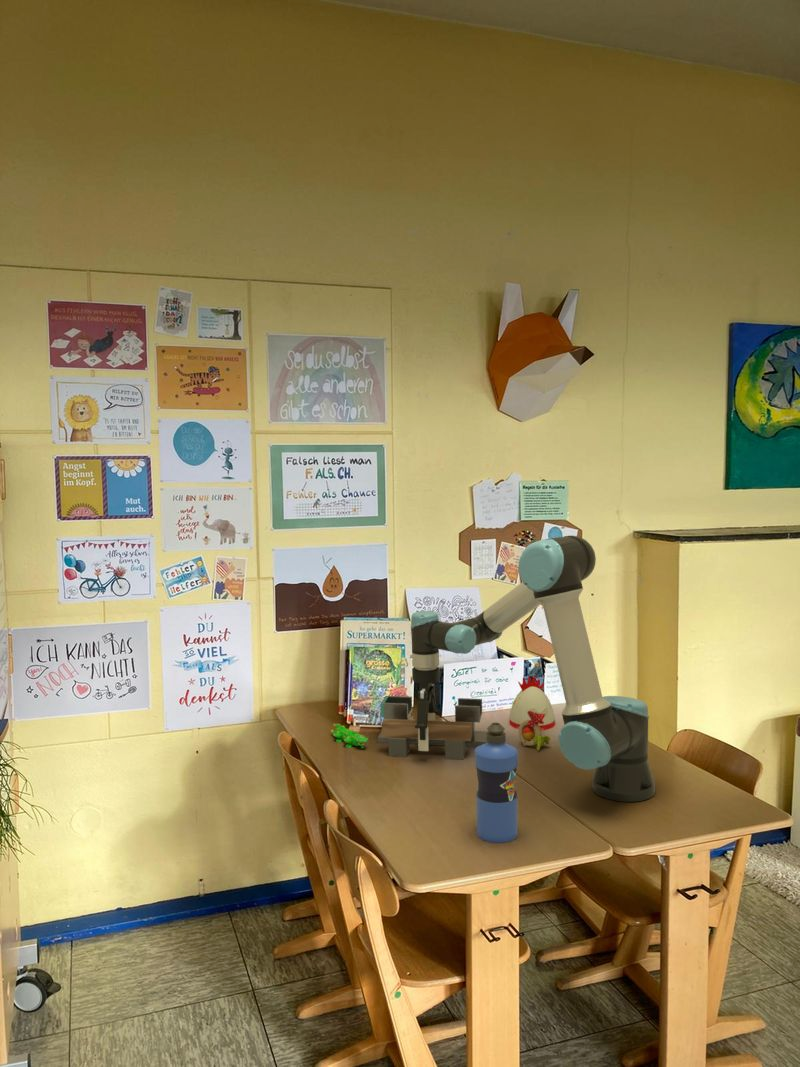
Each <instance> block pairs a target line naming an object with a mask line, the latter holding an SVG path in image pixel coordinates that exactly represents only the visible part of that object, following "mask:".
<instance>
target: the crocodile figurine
mask: <svg viewBox="0 0 800 1067" xmlns="http://www.w3.org/2000/svg"><path fill="white" fill-rule="evenodd" d="M333 727H334V728H335V730H334V729H331V730H330V731H331V734H332V736H334V737H335V738H337V739H335V742H336V743H342V742H345V743H346V744H345V747H346V748H352V747H353V746H355V747H359V746H360V749H364V748H365V744H366V743H367V742H368V741H369V738H367V737H366V736H365V735H364V734H361V733H360V734H359V733H357V731H355V730H353V729H350V728H346V726H345V725H341V724H340V723H333Z"/></svg>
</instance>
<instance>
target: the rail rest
mask: <svg viewBox="0 0 800 1067" xmlns="http://www.w3.org/2000/svg"><path fill="white" fill-rule="evenodd" d="M387 746H388V757H400V758H401V757H402V758H407V756H408V754H409V753H410V750H411V744H410V738H388V743H387ZM444 749H445V750H444V751H445V752H444V753H445V754H444V756H445V757H444V758H445V760H460V761H461V760H465V756H466V753H467V746H466V741H457V740H445V745H444Z"/></svg>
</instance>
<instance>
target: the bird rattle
mask: <svg viewBox="0 0 800 1067" xmlns="http://www.w3.org/2000/svg"><path fill="white" fill-rule="evenodd" d="M527 713H528V715H529V717H530V719H531V720H526V721H524V722H522V723H521V725H520V727H519V729H518V735H519V739H520V740H521V742H522V745H523V747H526V746H531V747H532V746H536V751H537V752H539V751H540V750H541V747H543V745H544V744H545V745H548V746H549V745H550V741H551V738H550V736H549V735H542V731H541V729H540V727H539V724H538V723H540V724H543V723H544V722H543V718H544V717H545V714H538V713H537V712H535V713H534V712H533V711H532V712H531V711H528V712H527ZM534 730H535V731H534Z"/></svg>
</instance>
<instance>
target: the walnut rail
mask: <svg viewBox="0 0 800 1067" xmlns="http://www.w3.org/2000/svg"><path fill="white" fill-rule="evenodd" d="M420 724H424V723H420ZM415 725H417V719H408V720H401V719H384V718H383V721H382V722H381V731H382V737H387V738H410V739H418V728H415ZM427 725H428V739H433V740H457V741H471V739H472V722H455V721H445V720H435V721H428V723H427Z"/></svg>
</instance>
